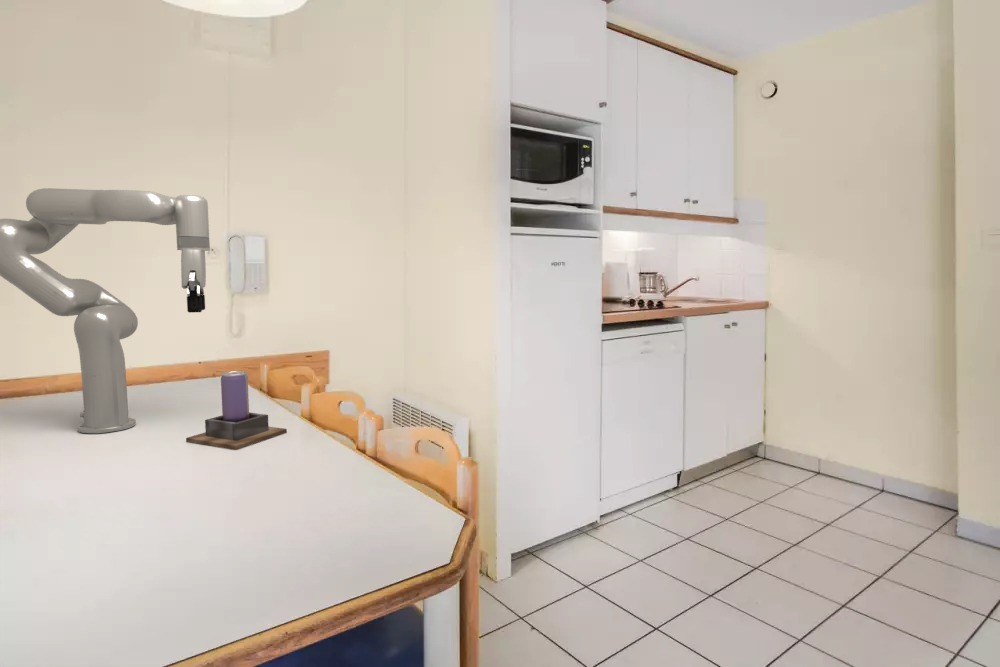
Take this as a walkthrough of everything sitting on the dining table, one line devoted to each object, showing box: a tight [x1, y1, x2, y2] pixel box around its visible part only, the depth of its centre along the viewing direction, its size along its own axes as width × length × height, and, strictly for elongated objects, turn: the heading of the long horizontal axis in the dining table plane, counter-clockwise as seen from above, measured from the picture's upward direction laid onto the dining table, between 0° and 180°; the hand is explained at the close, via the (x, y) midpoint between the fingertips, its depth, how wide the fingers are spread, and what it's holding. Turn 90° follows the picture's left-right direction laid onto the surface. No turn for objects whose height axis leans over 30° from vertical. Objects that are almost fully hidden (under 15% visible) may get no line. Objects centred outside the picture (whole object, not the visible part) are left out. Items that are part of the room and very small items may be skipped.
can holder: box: [185, 412, 288, 451], centre depth 145 cm, size 16×16×5 cm
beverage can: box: [220, 370, 250, 422], centre depth 145 cm, size 6×6×15 cm
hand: (196, 311), depth 154 cm, fingers open, 9 cm apart
